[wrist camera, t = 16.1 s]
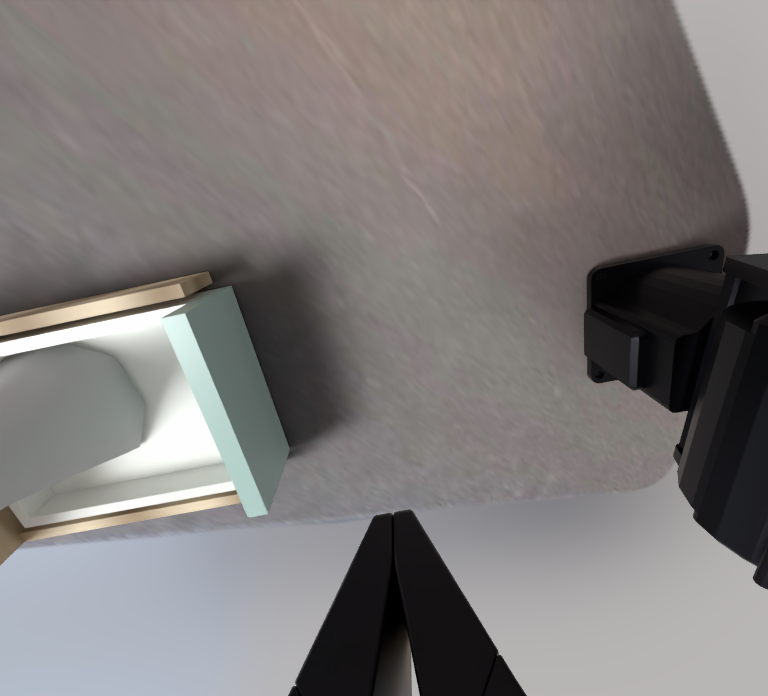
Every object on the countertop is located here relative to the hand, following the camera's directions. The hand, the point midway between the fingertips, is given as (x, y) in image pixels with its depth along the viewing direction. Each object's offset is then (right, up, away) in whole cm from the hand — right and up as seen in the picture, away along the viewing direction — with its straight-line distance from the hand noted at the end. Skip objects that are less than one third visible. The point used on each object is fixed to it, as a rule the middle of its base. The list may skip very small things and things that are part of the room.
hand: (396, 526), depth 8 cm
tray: (-15, +1, +13) cm, 20 cm away
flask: (-17, +1, +12) cm, 20 cm away
